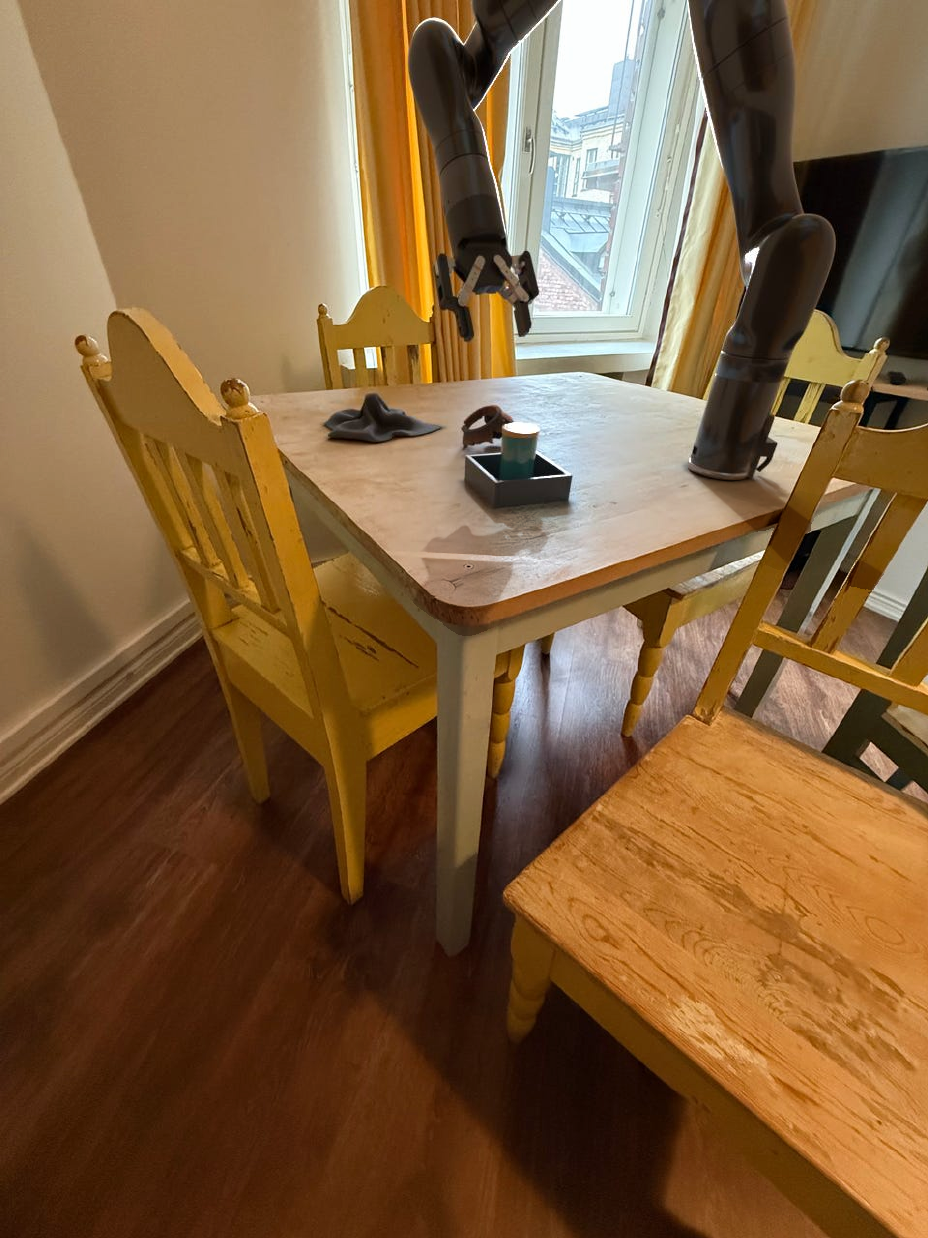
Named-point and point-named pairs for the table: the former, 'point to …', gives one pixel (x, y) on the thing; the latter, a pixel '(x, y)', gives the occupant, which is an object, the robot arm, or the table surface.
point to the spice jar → (518, 451)
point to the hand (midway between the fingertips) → (497, 336)
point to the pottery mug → (490, 429)
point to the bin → (517, 482)
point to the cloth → (375, 422)
